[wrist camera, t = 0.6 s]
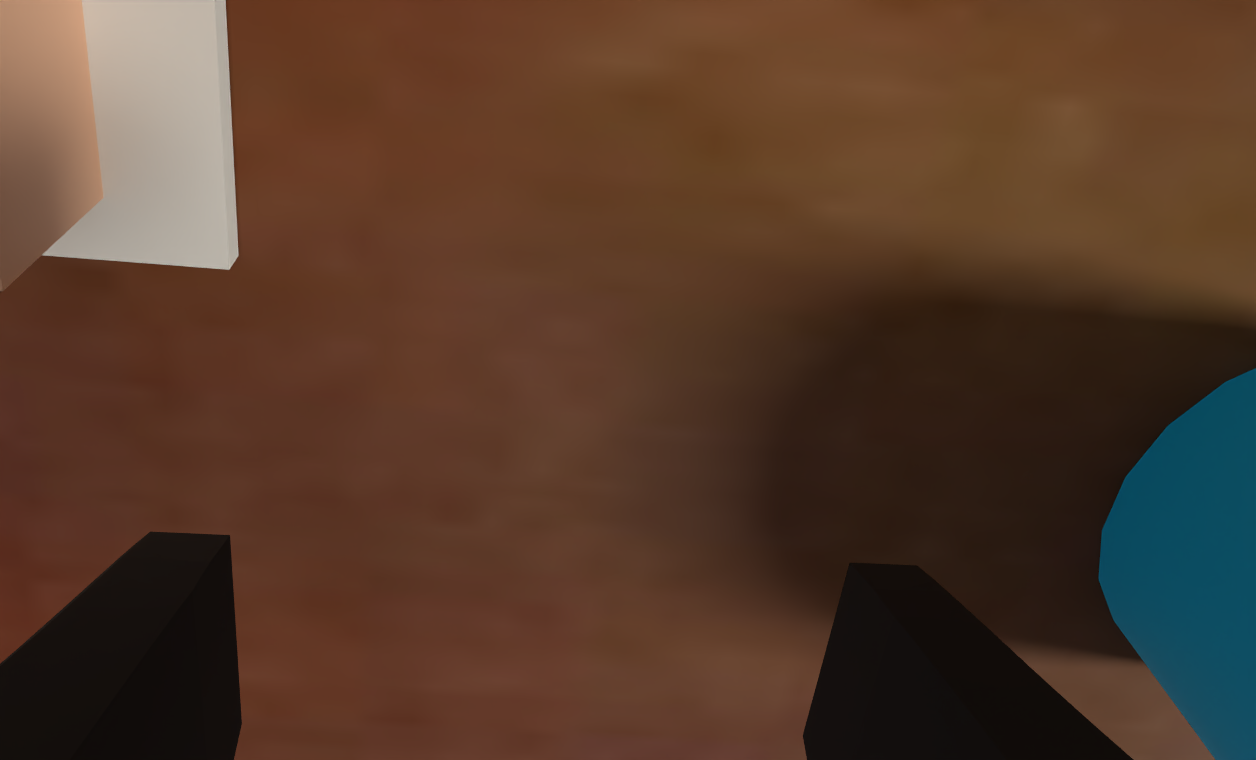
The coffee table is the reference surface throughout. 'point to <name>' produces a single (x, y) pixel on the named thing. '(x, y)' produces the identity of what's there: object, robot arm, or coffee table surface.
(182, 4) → the push mat
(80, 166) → the t block
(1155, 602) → the mug
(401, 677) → the coffee table surface
